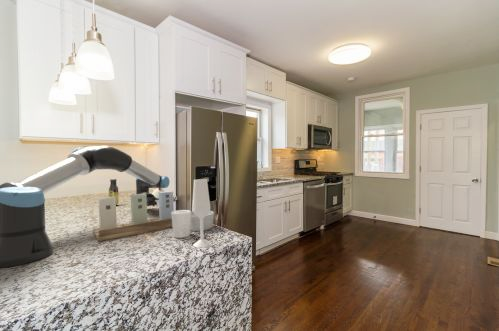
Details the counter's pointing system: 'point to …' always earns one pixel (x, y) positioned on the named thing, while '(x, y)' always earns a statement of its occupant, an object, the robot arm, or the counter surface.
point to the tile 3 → (165, 205)
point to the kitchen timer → (157, 192)
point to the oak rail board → (132, 229)
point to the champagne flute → (201, 207)
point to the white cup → (181, 223)
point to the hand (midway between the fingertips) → (160, 203)
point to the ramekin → (206, 221)
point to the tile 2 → (138, 208)
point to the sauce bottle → (113, 190)
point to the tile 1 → (107, 213)
